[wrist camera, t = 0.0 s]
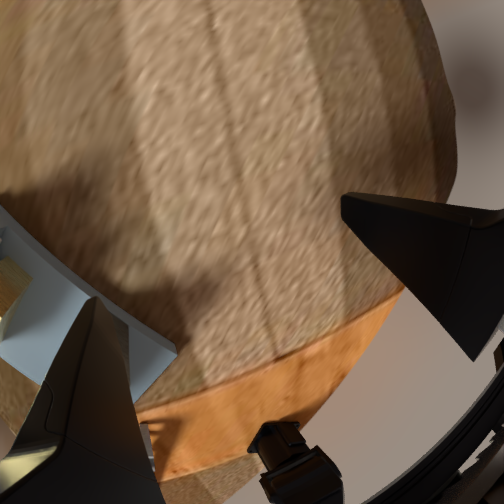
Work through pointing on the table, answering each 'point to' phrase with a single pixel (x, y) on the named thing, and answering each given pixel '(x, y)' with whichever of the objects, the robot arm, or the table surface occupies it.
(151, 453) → the caliper
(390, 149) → the table surface
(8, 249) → the vise
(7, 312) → the pale yellow wooden block
